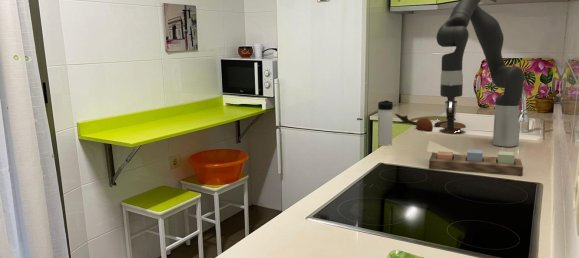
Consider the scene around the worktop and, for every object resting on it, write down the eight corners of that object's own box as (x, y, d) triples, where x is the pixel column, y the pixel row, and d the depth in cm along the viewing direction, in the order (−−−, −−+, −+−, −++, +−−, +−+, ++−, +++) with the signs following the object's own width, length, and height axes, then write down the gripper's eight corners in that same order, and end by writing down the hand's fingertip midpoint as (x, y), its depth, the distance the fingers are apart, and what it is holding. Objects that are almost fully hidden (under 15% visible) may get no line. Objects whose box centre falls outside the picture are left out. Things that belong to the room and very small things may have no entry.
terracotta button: (452, 160, 167) (452, 152, 166) (451, 164, 162) (452, 155, 162) (438, 159, 169) (438, 151, 168) (437, 162, 164) (437, 154, 163)
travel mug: (392, 145, 201) (393, 100, 197) (391, 148, 195) (392, 102, 191) (378, 144, 203) (379, 100, 199) (376, 147, 197) (377, 102, 193)
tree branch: (451, 132, 228) (452, 117, 226) (392, 128, 242) (392, 114, 240) (458, 125, 247) (458, 111, 246) (403, 122, 261) (403, 109, 260)
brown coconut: (460, 120, 226) (459, 132, 227) (436, 121, 226) (435, 133, 227) (470, 124, 214) (469, 137, 215) (445, 125, 214) (445, 137, 215)
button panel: (519, 167, 161) (520, 158, 161) (522, 175, 151) (523, 167, 150) (432, 160, 173) (432, 153, 172) (428, 168, 162) (429, 160, 162)
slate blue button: (482, 159, 163) (482, 150, 162) (482, 162, 158) (482, 153, 157) (467, 158, 164) (467, 149, 164) (466, 161, 160) (467, 152, 159)
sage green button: (513, 161, 159) (513, 152, 158) (514, 164, 154) (514, 155, 154) (497, 160, 161) (498, 151, 160) (497, 163, 156) (498, 154, 156)
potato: (429, 137, 221) (414, 129, 222) (425, 134, 233) (411, 127, 233) (437, 123, 220) (422, 116, 221) (432, 121, 232) (418, 114, 232)
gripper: (441, 81, 170) (440, 126, 173) (439, 85, 158) (438, 133, 161) (463, 81, 167) (461, 127, 171) (462, 84, 155) (460, 134, 159)
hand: (450, 130), depth 166 cm, fingers closed
